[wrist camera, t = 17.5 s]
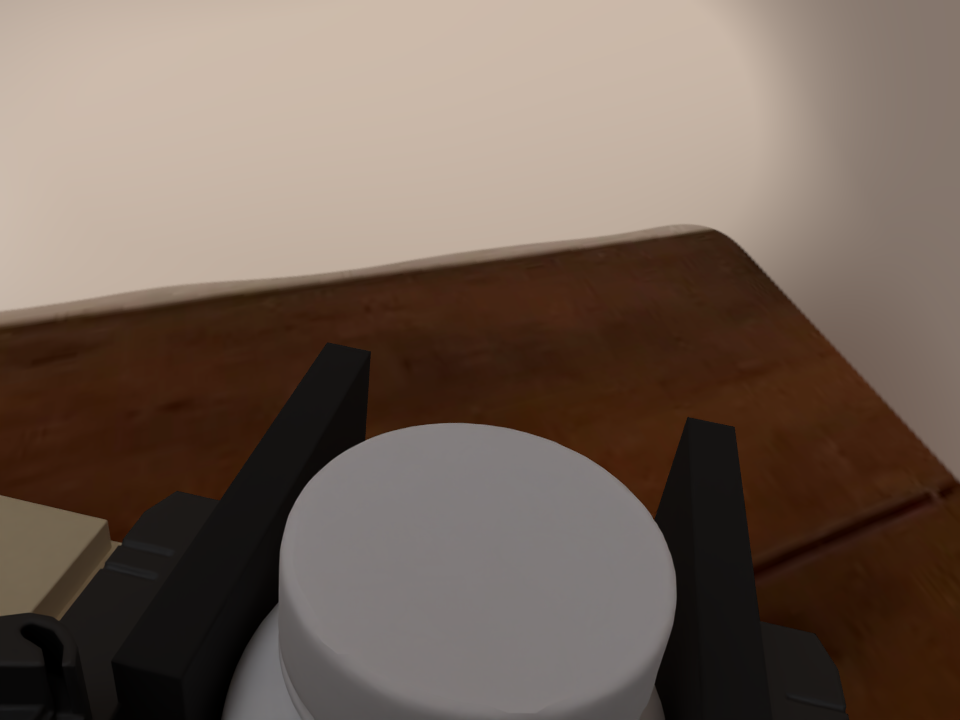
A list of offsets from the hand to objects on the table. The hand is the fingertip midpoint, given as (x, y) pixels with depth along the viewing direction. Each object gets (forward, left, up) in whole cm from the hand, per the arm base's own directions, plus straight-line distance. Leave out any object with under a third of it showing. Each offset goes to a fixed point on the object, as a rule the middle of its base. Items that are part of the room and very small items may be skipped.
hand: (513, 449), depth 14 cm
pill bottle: (0, +5, -6) cm, 8 cm away
